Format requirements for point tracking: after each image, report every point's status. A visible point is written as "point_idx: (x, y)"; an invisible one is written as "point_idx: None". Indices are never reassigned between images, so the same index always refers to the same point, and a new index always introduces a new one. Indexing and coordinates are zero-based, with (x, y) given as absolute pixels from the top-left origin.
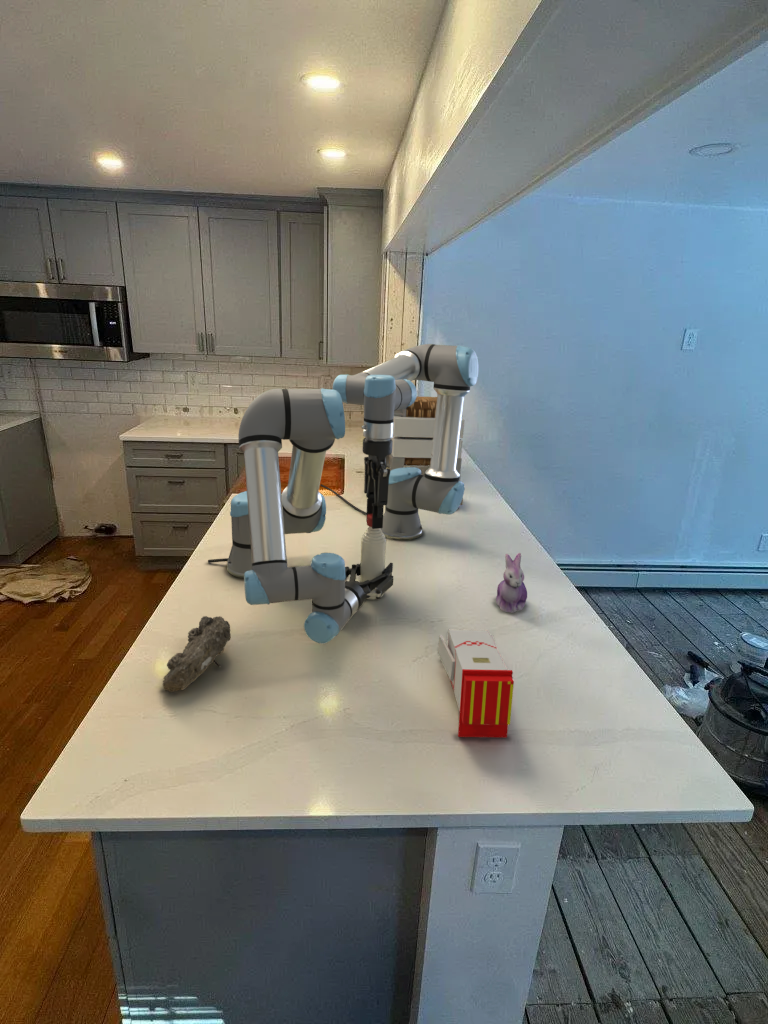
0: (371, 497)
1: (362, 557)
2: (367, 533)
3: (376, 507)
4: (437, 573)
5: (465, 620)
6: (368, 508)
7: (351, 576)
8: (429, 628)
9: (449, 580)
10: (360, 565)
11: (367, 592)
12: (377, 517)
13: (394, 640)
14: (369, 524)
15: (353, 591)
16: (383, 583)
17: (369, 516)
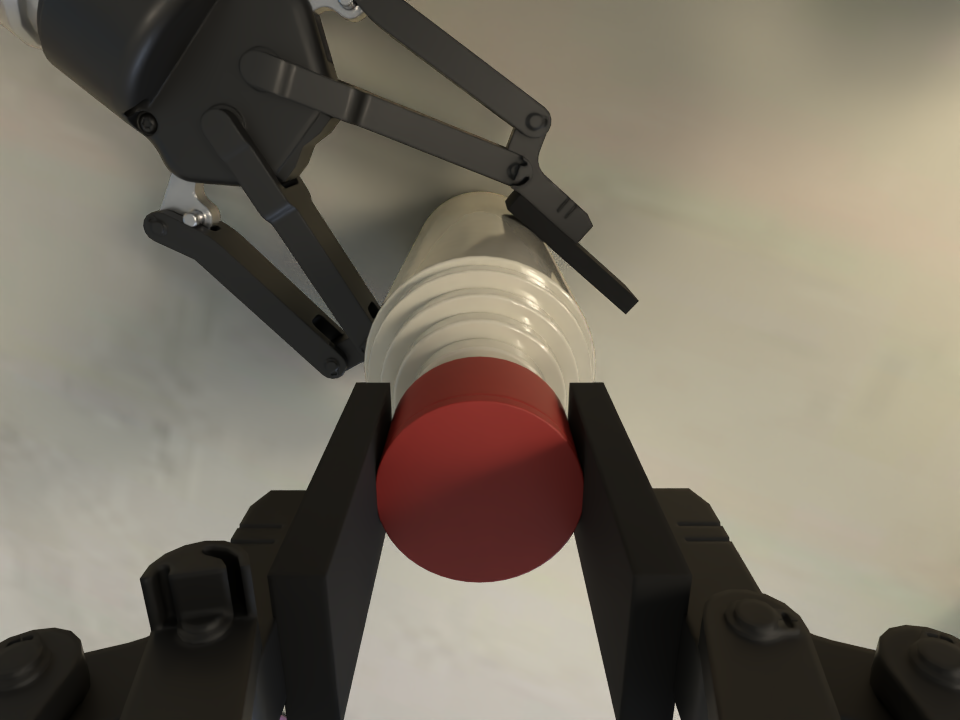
0: (687, 666)
1: (458, 230)
2: (451, 323)
3: (268, 590)
4: (586, 614)
5: (157, 554)
6: (601, 488)
7: (386, 110)
8: (107, 398)
9: (505, 632)
10: (503, 218)
11: (158, 151)
12: (267, 499)
13: (16, 212)
14: (429, 377)
15: (38, 15)
16: (245, 288)
17: (474, 428)
